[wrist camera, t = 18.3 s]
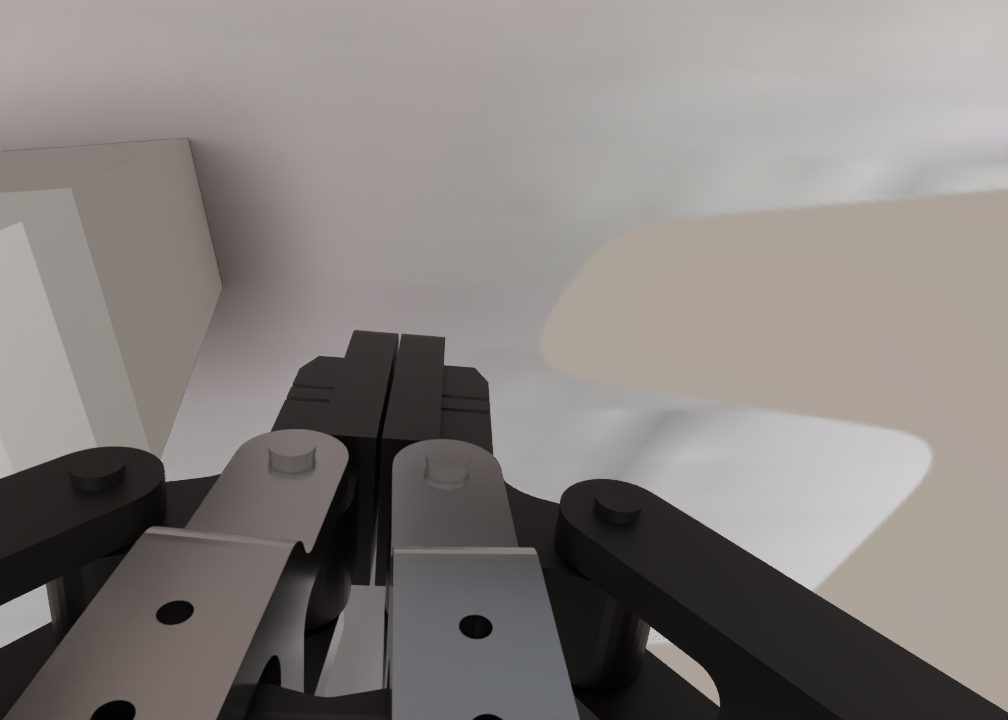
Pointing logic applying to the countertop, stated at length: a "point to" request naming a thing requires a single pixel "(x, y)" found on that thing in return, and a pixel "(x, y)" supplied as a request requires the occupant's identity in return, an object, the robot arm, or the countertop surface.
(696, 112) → the countertop surface
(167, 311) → the soap bottle
